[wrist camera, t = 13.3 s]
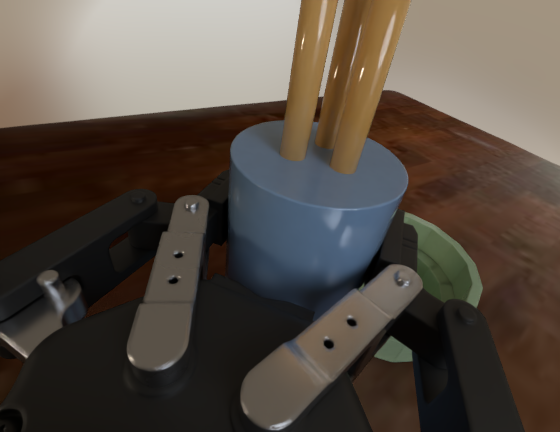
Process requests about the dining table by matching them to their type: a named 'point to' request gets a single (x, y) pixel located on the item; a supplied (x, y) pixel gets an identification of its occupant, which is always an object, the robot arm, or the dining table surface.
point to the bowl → (437, 276)
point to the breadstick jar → (319, 165)
